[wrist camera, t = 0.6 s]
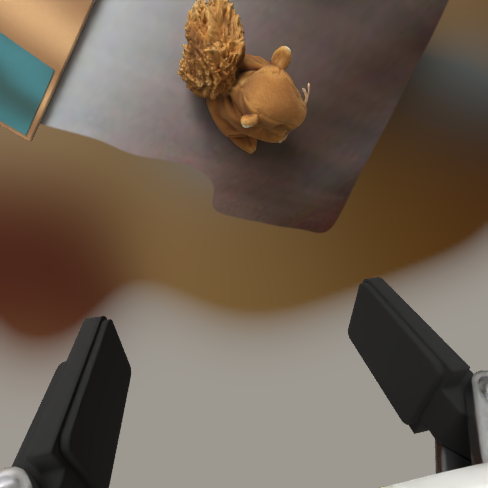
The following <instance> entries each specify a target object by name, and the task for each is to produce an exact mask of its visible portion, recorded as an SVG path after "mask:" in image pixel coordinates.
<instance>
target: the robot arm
mask: <svg viewBox="0 0 488 488" xmlns="http://www.w3.org/2000/svg"><path fill="white" fill-rule="evenodd" d="M348 334H349V338H350V339H351V341H352V342H353V344H354V346H355V347H356V349H357V350H358V352H359V354H360V355H361V357H362V358H363V360H364V362H365V363H366V365H367V366H368V368H369V369H370V371H371V373H372V374H373V376H374V377H375V379H376V381H377V382H378V384H379V385H380V387H381V388H382V390H383V391H384V393H385V395H386V396H387V398H388V400H389V401H390V403H391V404H392V406H393V407H394V409H395V411H396V412H397V413H398V415H399V417H400V418H401V420H402V421H403V422H404V423H405V424H407V425H409V426H410V428H411V429H412V431H413V432H414V434H415V433H419V432H424V431H428V430H429V431H430V432H431V434H432V435H433V436H434V438H435V460H436V461H435V462H436V474H433V475H429V476H425V477H421V478H417V479H413V480H409V481H406V482H401V483H397V484H393V485H389V486H385V487H381V488H488V371H478V372H476V373H475V374H473V373H472V372H471V371H470V370H469V369H470V367H469V366H468V365H467V364H466V363H465V362H464V361H463V360H462V359H461V358H460V357H459V356H458V355H457V354H456V353H455V352H454V351H453V350H452V349H451V348H450V347H449V346H448V345H447V344H446V343H445V342H444V341H443V339H442V338H440V337H439V336H438V334H437V333H436V332H435V331H434V330H432V329H431V327H430V326H429V325H428V324H427V323H426V322H425V321H424V320H423V319H422V318H421V317H420V316H419V315H418V314H417V313H416V312H415V311H414V310H412V308H411V307H410V306H409V305H408V304H407V303H406V302H405V301H404V300H403V299H402V298H401V297H400V296H399V295H398V294H397V293H396V292H395V291H394V290H393V289H392V288H391V287H390V286H389V285H388V284H387V283H386V282H385V281H384V280H383V279H382V278H379V277H377V278H370V279H365V280H364V281H363V283H362V284H360V286H359V289H358V293H357V297H356V301H355V304H354V308H353V313H352V316H351V320H350V324H349V328H348ZM130 377H131V367H130V364H129V362H128V360H127V357H126V354H125V352H124V349H123V347H122V344H121V341H120V339H119V336H118V334H117V332H116V329H115V326H114V324H113V321H112V320H111V319H110V320H107V318H106V317H105V316H101V317H94V318H87V319H85V321H84V322H83V324H82V327H81V329H80V331H79V334H78V336H77V338H76V340H75V343H74V345H73V347H72V350H71V352H70V354H69V357H68V359H67V361H65V362H63V363H61V364H60V365H59V366H58V368H57V370H56V372H55V374H54V376H53V378H52V380H51V383H50V385H49V387H48V389H47V391H46V394H45V396H44V398H43V400H42V402H41V404H40V407H39V409H38V411H37V413H36V415H35V417H34V419H33V422H32V424H31V426H30V428H29V430H28V432H27V435H26V437H25V439H24V441H23V443H22V445H21V448H20V450H19V452H18V454H17V456H16V458H15V461H14V463H13V465H12V467H9V468H4V469H1V470H0V488H109V484H110V479H111V474H112V469H113V464H114V459H115V453H116V449H117V444H118V439H119V433H120V428H121V423H122V418H123V413H124V408H125V402H126V398H127V392H128V388H129V383H130Z"/></svg>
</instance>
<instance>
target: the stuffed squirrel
mask: <svg viewBox="0 0 488 488" xmlns="http://www.w3.org/2000/svg"><path fill="white" fill-rule="evenodd" d="M194 3H195V2H194ZM208 4H209V5H208V6H207V2H205V0H196V3H195V5H193V7H192V9H191V10H190V11H188V17H187V18H188V22H186V25H185V30H186V34H185V37H186V38H187V41H188V45H185V44H183V45H182V46H183V47H184V52H182V53H183V59H181V61H179V62H180V65H179V66H180V69H179V70H178V73H177V74H179V75H180V76H181V78H182V79H183V81H185V82H186V84H187V88H189V90H191V91H193V93H194V94H195V95H197V96H198V97H200V98H205V97H206V103H207V106H208V109H209V111H210V114H211V116H212V118H213V120H214V122H215V124H216V125H217V127H218V128H219V130H220V131H221V132H222V133H223V134H224V135H225V136H228V137H229V138H230V140H231V141H232V142H233V143H235V144H236V145H237V146H238V147H239V148H241V149H242V150H244V151H246V152H248V153H253V152H254V151H255V150H256V147H257V139H259V140H262V141H265V142H270V143H281V142H282V141H285V140H286V138H287V135H288V133H289V132H290V131H291V130H292V129H295V128H297V127H298V126H300V125H301V124H302V122H303V121H304V119H305V116H306V112H307V108H306V105H307V103H308V101H307V100H308V96H309V86H310V84H309V83H308V85H307V89H308V95H307V92H306V90H305V89H304V88H302V90H303V92H304V94H305V101H303V99H302V96H301V94H300V92H299V91H298V89H297V88H296V87H295V85H294V82H293V80H292V78H291V77H290V75H289V74H288V73H287V72H286V71H285V70H286V69H287V67H288V65H289V63H290V61H291V50H290V49H289V48H288V47H287V46H281V47H280V48H279V49H277V50H276V51H275V52H274V54H273V56H272V58H271V63H270V62H268V61H266V60H264V59H263V58H262V57H259V56H253V55H249V54H246V53H245V43H244V31H243V27H242V25H241V23H240V19H241V18H240V17H239V15H237V14H236V12H235V10H234V7H233V6H234V5H233V3H231V2H229V0H213V2H211V0H209V1H208ZM287 130H288V131H287Z"/></svg>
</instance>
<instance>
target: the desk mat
mask: <svg viewBox="0 0 488 488" xmlns="http://www.w3.org/2000/svg"><path fill="white" fill-rule="evenodd" d="M94 2H95V0H0V125H1V126H3V127H5V128H6V129H8V130H10V131H12V132H13V133H15V134H17V135H19V136H20V137H22V138H24V139H26V140H28V141H32V139H33V137H34V135H35V133H36V130H37V128H38V126H39V124H40V122H41V120H42V117H43V115H44V113H45V111H46V108H47V106H48V104H49V102H50V100H51V97H52V95H53V93H54V91H55V89H56V86H57V84H58V82H59V80H60V78H61V75H62V73H63V71H64V69H65V67H66V64H67V62H68V60H69V58H70V55H71V53H72V51H73V49H74V47H75V44H76V42H77V40H78V38H79V36H80V33H81V31H82V29H83V27H84V25H85V22H86V20H87V18H88V16H89V13H90V11H91V9H92V7H93V5H94Z"/></svg>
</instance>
